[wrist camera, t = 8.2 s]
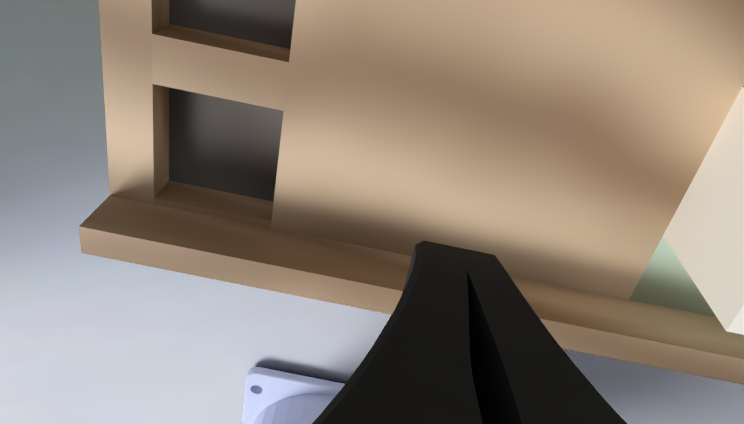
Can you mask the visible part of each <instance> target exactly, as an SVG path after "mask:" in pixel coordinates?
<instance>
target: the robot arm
mask: <svg viewBox="0 0 744 424" xmlns="http://www.w3.org/2000/svg"><path fill="white" fill-rule="evenodd" d="M255 385H257V386H260V387H257V386H255ZM242 424H627V423H626V422H625V421H624V420H623V419H622V418H621V417H620V416H619V415H618V414H617V413H616V412H615V411H614V410H613V408H612V407H611V406H610V405H609V404H608V403H607V402H606V401H605V400H604V399H603V397H602V396H601V395H600V394H599V393H598V392H597V391H596V389H595V388H594V387H593V386H592V385H591V383H590V382H589V381H588V380H587V379H586V377H585V376H584V375H583V374H582V373H581V371H580V370H579V369H578V368H577V367H576V365H575V364H574V363H573V362H572V361H571V359H570V358H569V357H568V356H567V354H566V353H565V352H564V351H563V349H562V348H561V347H560V345H559V344H558V343H557V342H556V340H555V339H554V338H553V336H552V335H551V334H550V332H549V331H548V330H547V328H546V327H545V326H544V324H543V323H542V321H541V320H540V319H539V317H538V316H537V315H536V313H535V312H534V310H533V309H532V308H531V306H530V305H529V303H528V302H527V300H526V299H525V298H524V296H523V295H522V293H521V292H520V290H519V289H518V288H517V286H516V285H515V283H514V282H513V280H512V279H511V277H510V276H509V274H508V273H507V272H506V270H505V269H504V267H503V266H502V264H501V263H500V261H499V260H498V259H497V257H496V256H495V255H493V254H488V253H483V252H478V251H473V250H468V249H464V248H459V247H454V246H449V245H444V244H439V243H434V242H429V241H424V240H423V241H421V242H420V243H418V244H416V245H415V248H414V252H413V255H412V259H411V263H410V266H409V270H408V274H407V277H406V281H405V285H404V288H403V292H402V296H401V298H400V300H399V302H398V304H397V306H396V308H395V310H394V312H393V314H392V315H391V317H390V319H389V320H388V322H387V324H386V325H385V327H384V329H383V330H382V332H381V334H380V335H379V337H378V339H377V340H376V342H375V344H374V345H373V347H372V348H371V350H370V351H369V352H368V354H367V355H366V357H365V358H364V360H363V361H362V363H361V364H360V365H359V367H358V368H357V369H356V371H355V372H354V373H353V375H352V376H351V377H350V379H349V380H348V381H347V383H346V384H343V383H338V382H333V381H328V380H323V379H318V378H313V377H307V376H302V375H297V374H292V373H287V372H282V371H277V370H272V369H267V368H262V367H254V368H251V369H250V370H249V372H248V375H247V377H246V384H245V394H244V404H243V414H242Z"/></svg>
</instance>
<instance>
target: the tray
mask: <svg viewBox="0 0 744 424" xmlns="http://www.w3.org/2000/svg"><path fill="white" fill-rule="evenodd" d="M99 14H100V31H101V48H102V65H103V83H104V100H105V117H106V135H107V152H108V169H109V186H110V196H109V197H108V198H107V199H106V200H105V201H104V202H103V203H102V204H101V205H100V206H99V207H98V208H97V209H96V210H95V211H94V212H93V213H92V214H91V215H90V216H89V217H88V218H87V219H86V220H85V221H84V222H83V223H82V224H81V225H80V226H79V232H80V242H81V253H85V254H90V255H95V256H100V257H105V258H110V259H115V260H120V261H125V262H130V263H136V264H141V265H146V266H151V267H156V268H161V269H166V270H171V271H176V272H181V273H186V274H191V275H196V276H201V277H206V278H211V279H216V280H221V281H226V282H231V283H236V284H241V285H246V286H251V287H256V288H261V289H266V290H271V291H276V292H281V293H286V294H291V295H296V296H301V297H307V298H312V299H317V300H322V301H327V302H332V303H337V304H342V305H347V306H352V307H357V308H362V309H367V310H372V311H377V312H382V313H387V314H393V312H394V310H395V308H396V306H397V304H398V302H399V300H400V298H401V296H402V292H403V288H404V285H405V281H406V277H407V274H408V270H409V266H410V263H411V259H412V255H413V252H414V248H415V245H416V244H418V243H420V242H421V241H423V240H424V241H429V242H434V243H439V244H444V245H449V246H454V247H459V248H464V249H468V250H473V251H478V252H483V253H488V254H493V255H495V256H496V257H497V259H498V260H499V261H500V263H501V264H502V266H503V267H504V269H505V270H506V272H507V273H508V274H509V276H510V277H511V279H512V280H513V282H514V283H515V285H516V286H517V288H518V289H519V290H520V292H521V293H522V295H523V296H524V298H525V299H526V300H527V302H528V303H529V305H530V306H531V308H532V309H533V310H534V312H535V313H536V315H537V316H538V317H539V319H540V320H541V321H542V323H543V324H544V326H545V327H546V328H547V330H548V331H549V332H550V334H551V335H552V336H553V338H554V339H555V340H556V342H557V343H558V344H559V345H560V347H561V348H563V349H568V350H573V351H578V352H583V353H588V354H593V355H598V356H603V357H608V358H613V359H618V360H623V361H628V362H633V363H638V364H643V365H649V366H654V367H659V368H664V369H669V370H674V371H679V372H684V373H689V374H694V375H699V376H704V377H709V378H714V379H719V380H724V381H729V382H734V383H739V384H744V335H742V334H737V333H732V332H727V331H726V330H725V329H724V327H723V326H722V324H721V323H720V321H719V320H718V318H717V317H716V315H715V314H714V312H713V311H712V309H711V308H710V306H709V305H708V303H707V302H706V300H705V299H704V297H703V295H702V294H701V292H700V291H699V289H698V288H697V286H696V285H695V283H694V282H693V280H692V279H691V277H690V276H689V274H688V273H687V271H686V270H685V268H684V267H683V265H682V264H681V262H680V261H679V259H678V257H677V256H676V254H675V253H674V251H673V250H672V248H671V247H670V245H669V244H668V242H667V241H666V239H665V238H664V236H663V235H664V233H665V231H666V229H667V227H668V225H669V224H670V222H671V220H672V218H673V216H674V214H675V212H676V210H677V208H678V207H679V205H680V203H681V201H682V199H683V197H684V195H685V193H686V192H687V190H688V188H689V186H690V184H691V182H692V180H693V178H694V177H695V175H696V173H697V171H698V169H699V167H700V165H701V163H702V161H703V160H704V158H705V156H706V154H707V152H708V150H709V148H710V146H711V145H712V143H713V141H714V139H715V137H716V135H717V133H718V131H719V130H720V128H721V126H722V124H723V122H724V120H725V118H726V116H727V114H728V113H729V111H730V109H731V107H732V105H733V103H734V101H735V99H736V98H737V96H738V94H739V92H740V90H741V88H742V86H743V87H744V0H99Z"/></svg>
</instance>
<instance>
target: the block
mask: <svg viewBox="0 0 744 424" xmlns="http://www.w3.org/2000/svg"><path fill="white" fill-rule="evenodd" d="M663 236H664V238H665V239H666V241H667V242H668V244H669V245H670V247H671V248H672V250H673V251H674V253H675V254H676V256H677V257H678V259H679V261H680V262H681V264H682V265H683V267H684V268H685V270H686V271H687V273H688V274H689V276H690V277H691V279H692V280H693V282H694V283H695V285H696V286H697V288H698V289H699V291H700V292H701V294H702V295H703V297H704V299H705V300H706V302H707V303H708V305H709V306H710V308H711V309H712V311H713V312H714V314H715V315H716V317H717V318H718V320H719V321H720V323H721V324H722V326H723V327H724V329H725V330H726V331H727V332H732V333H737V334H742V335H744V87H743V86H742V88H741V90H740V92H739V94H738V96H737V98H736V99H735V101H734V103H733V105H732V107H731V109H730V111H729V113H728V114H727V116H726V118H725V120H724V122H723V124H722V126H721V128H720V130H719V131H718V133H717V135H716V137H715V139H714V141H713V143H712V145H711V146H710V148H709V150H708V152H707V154H706V156H705V158H704V160H703V161H702V163H701V165H700V167H699V169H698V171H697V173H696V175H695V177H694V178H693V180H692V182H691V184H690V186H689V188H688V190H687V192H686V193H685V195H684V197H683V199H682V201H681V203H680V205H679V207H678V208H677V210H676V212H675V214H674V216H673V218H672V220H671V222H670V224H669V225H668V227H667V229H666V231H665V233H664V235H663Z"/></svg>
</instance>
